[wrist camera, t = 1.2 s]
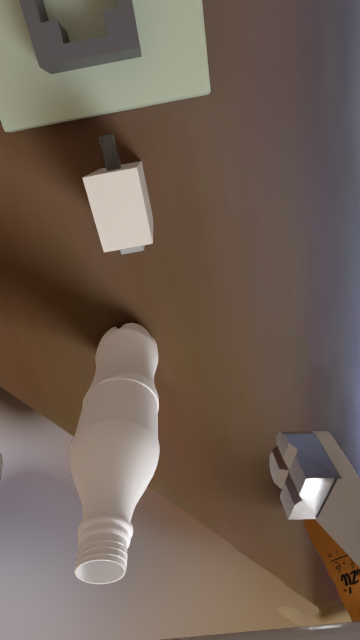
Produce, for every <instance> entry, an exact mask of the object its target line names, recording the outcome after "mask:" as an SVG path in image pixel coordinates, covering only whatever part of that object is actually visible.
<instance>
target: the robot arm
mask: <svg viewBox="0 0 360 640" xmlns="http://www.w3.org/2000/svg"><path fill="white" fill-rule="evenodd" d="M275 441H276V444H277V447H276V448H274V449H273V450H272V451H271V455H270V471H271V476H272V478H273V481H274V483H275V484H276V485H277V486H278V487H279V488H281V489H282V491H281V494H280V499H281V502H282V504H283V507H284V509H285V512H286V515H287V517H288V519H317V520H316V521H317V522H318V523H319V524H320V525H321V526H322V528H323V529H324V530H325V531H326V532H327V533H328V534H329V535H330V536H331V537H332V538H333V539H334V540H335V541H336V542H337V544H338V545H339V546H340V547H341V548H342V549H343V550H344V551H345V552H346V553H347V554H348V555H349V556H350V557H351V558H352V560H353V561H354V562H355V563H356V564H357V565H358V566H359V567H360V478H359V476H358V475H357V473H356V472H355V470H354V469H353V467H352V466H351V464H350V463H349V461H348V460H347V458H346V457H345V455H344V454H343V452H342V450H341V449H340V447H339V446H338V444H337V443H336V441H335V440H334V438H333V437H332V435H331V434H330V433H329V432H327V431H311V432H310V431H297V432H280V433H278V434H277V437H276V440H275ZM2 469H3V459H2V455H1V454H0V479H1V474H2ZM161 640H360V621H359V622H348V623H337V624H326V625H315V626H304V627H293V628H282V629H271V630H261V631H249V632H238V633H227V634H216V635H205V636H194V637H183V638H172V639H161Z"/></svg>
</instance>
